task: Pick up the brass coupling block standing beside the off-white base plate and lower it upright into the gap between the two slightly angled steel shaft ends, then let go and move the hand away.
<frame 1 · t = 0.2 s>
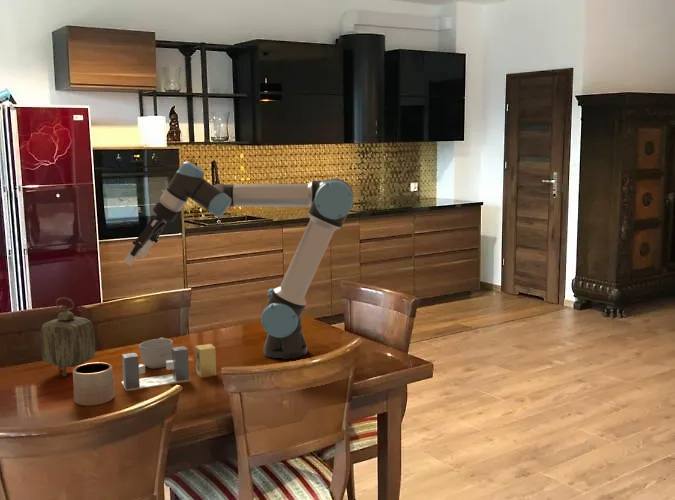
hand: (133, 259, 229), 35 cm above the table, tool tilted 35°, fingers open, 13 cm apart
teacup: (159, 364, 235), on the table
coupling block: (206, 374, 224), on the table
weathered metal cowbell: (68, 375, 225), on the table
planter: (94, 400, 203), on the table
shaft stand: (155, 381, 217), on the table
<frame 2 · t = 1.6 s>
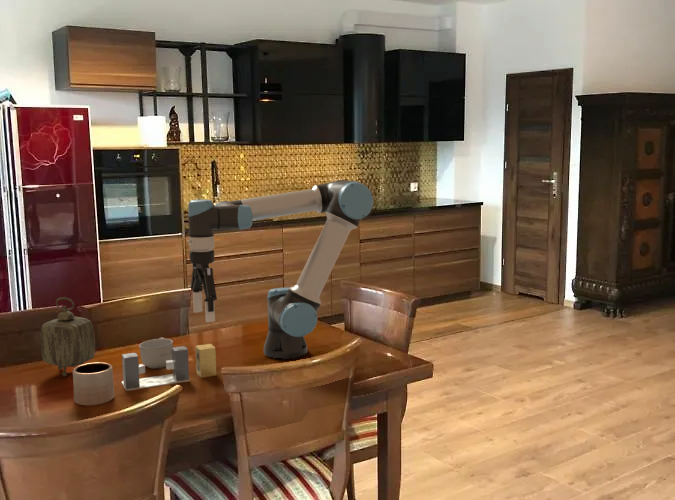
hand: (204, 316, 222), 19 cm above the table, tool pointing down, fingers open, 13 cm apart
nothing on the table moved.
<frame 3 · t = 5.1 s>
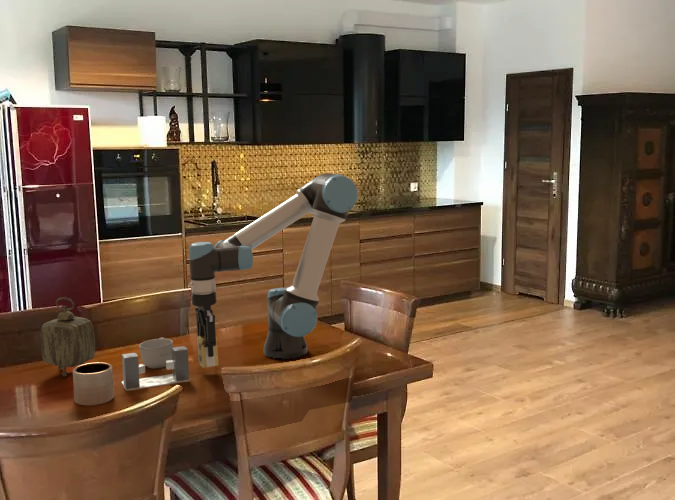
hand: (207, 363, 224), 3 cm above the table, tool pointing down, fingers closed on coupling block, 5 cm apart
coupling block: (208, 364, 224), point 3 cm above the table, touching gripper
everything else where it was.
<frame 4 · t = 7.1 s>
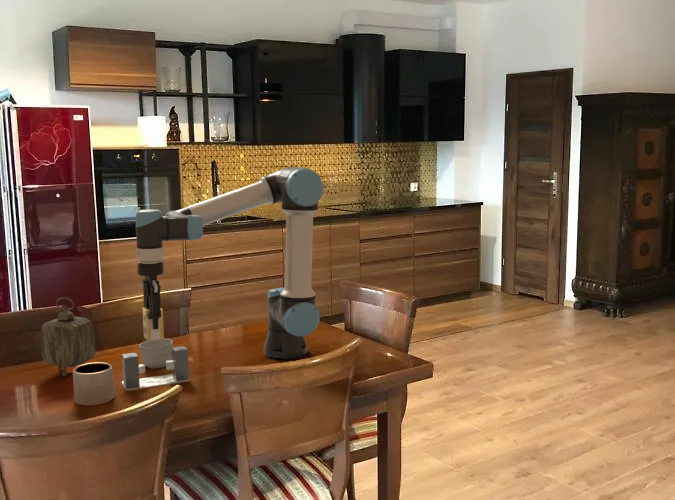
hand: (153, 336, 215), 14 cm above the table, tool pointing down, fingers closed on coupling block, 5 cm apart
coupling block: (153, 337, 215), point 14 cm above the table, touching gripper
everything else where it was.
when the fingers open (2 cm above the table, at t = 9.2 s): coupling block stays where it is, resting on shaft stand.
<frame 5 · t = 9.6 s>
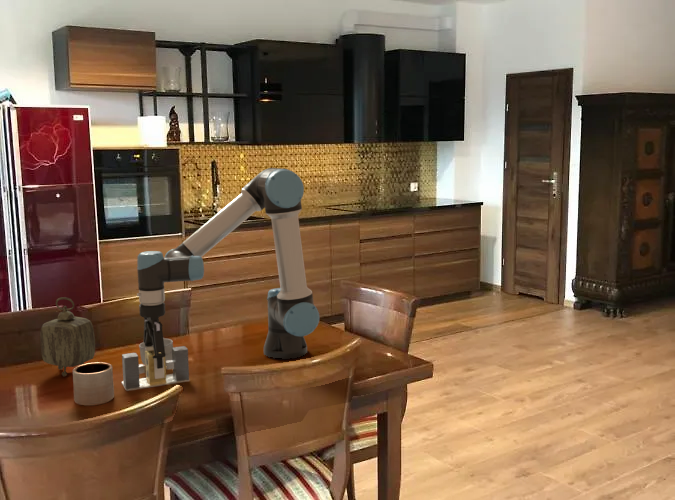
hand: (155, 372, 217), 3 cm above the table, tool pointing down, fingers open, 11 cm apart
coupling block: (156, 380, 217), resting on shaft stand
everything else where it was.
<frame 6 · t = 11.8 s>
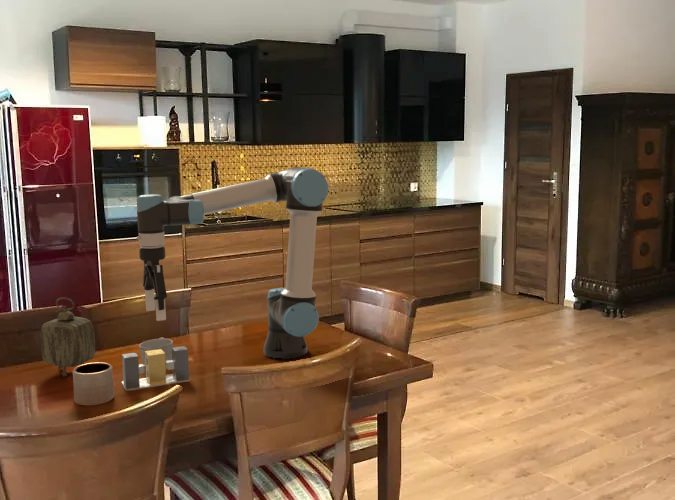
hand: (155, 315, 215), 21 cm above the table, tool pointing down, fingers open, 13 cm apart
nothing on the table moved.
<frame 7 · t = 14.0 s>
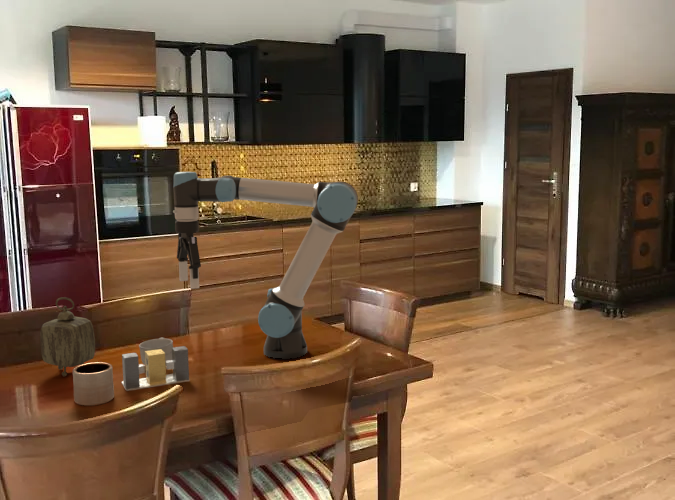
hand: (189, 284, 231), 27 cm above the table, tool pointing down, fingers open, 13 cm apart
nothing on the table moved.
at the end: coupling block 0.2 cm off-centre on the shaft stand, point 0.4 cm above the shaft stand's base; coupling block tilted 0°; the gripper is holding nothing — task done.
